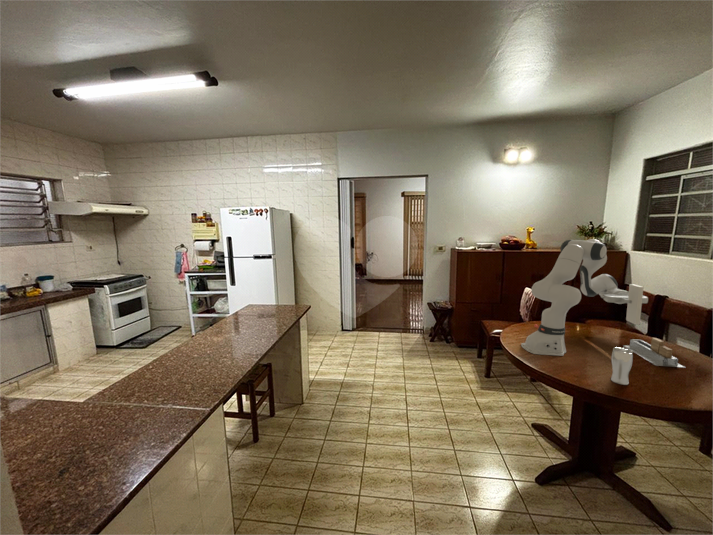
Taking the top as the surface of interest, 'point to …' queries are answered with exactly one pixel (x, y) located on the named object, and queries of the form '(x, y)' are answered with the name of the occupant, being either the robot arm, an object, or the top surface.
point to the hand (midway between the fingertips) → (633, 302)
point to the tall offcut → (656, 344)
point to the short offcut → (665, 351)
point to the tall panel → (634, 304)
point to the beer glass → (621, 365)
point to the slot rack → (651, 354)
